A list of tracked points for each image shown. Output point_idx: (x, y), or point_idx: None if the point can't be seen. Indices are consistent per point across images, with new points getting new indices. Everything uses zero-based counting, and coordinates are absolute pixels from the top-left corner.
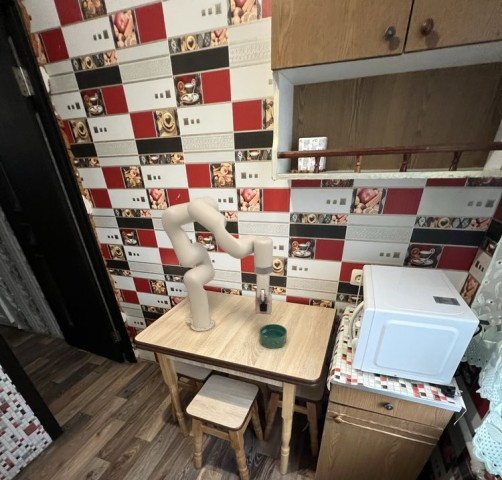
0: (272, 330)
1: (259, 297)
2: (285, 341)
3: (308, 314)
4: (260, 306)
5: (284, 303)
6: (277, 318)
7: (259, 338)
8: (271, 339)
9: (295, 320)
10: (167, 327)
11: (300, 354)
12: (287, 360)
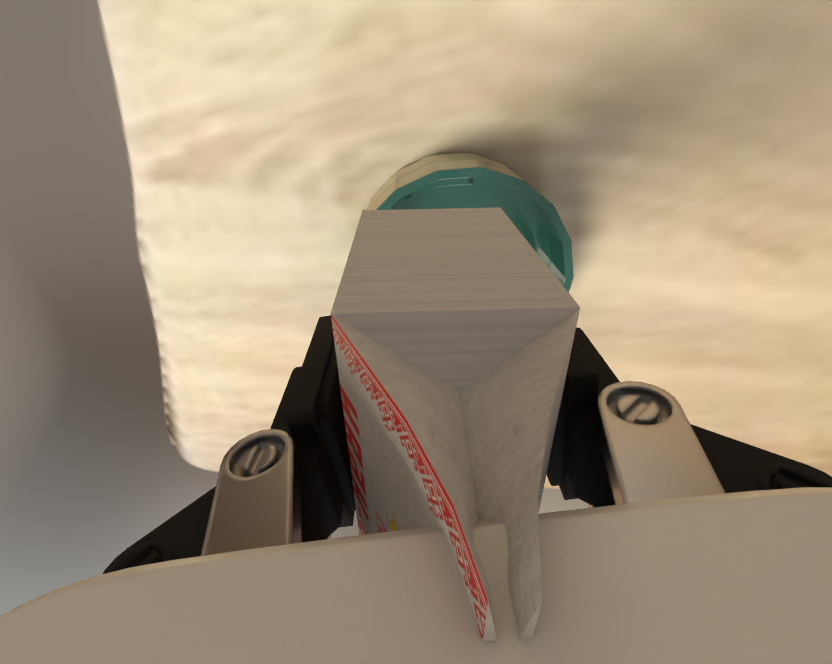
0: (535, 249)
1: (388, 480)
2: None
3: (777, 408)
4: (307, 379)
5: None
6: (772, 228)
7: (430, 159)
8: None
9: (716, 349)
10: None
11: None
12: (280, 357)
